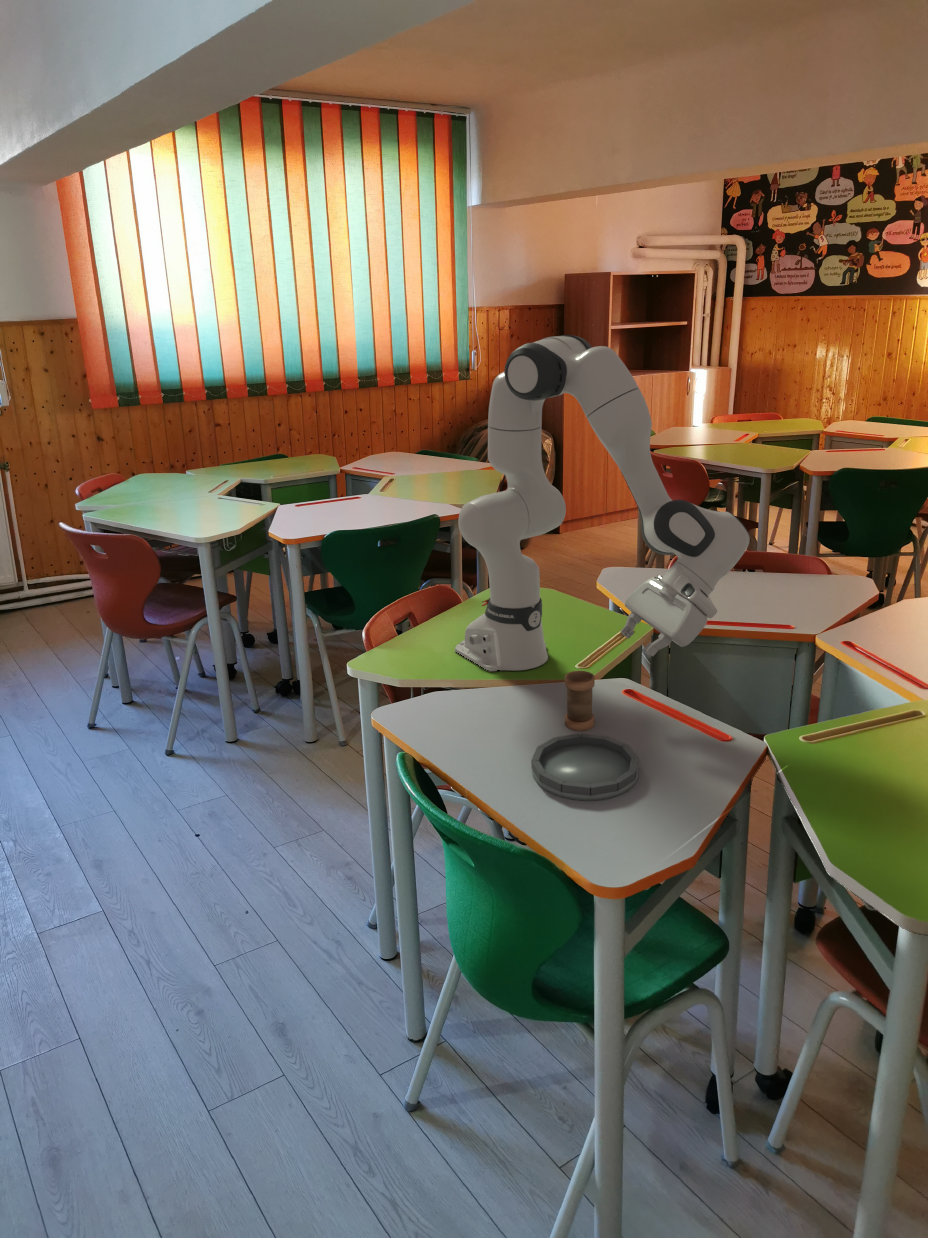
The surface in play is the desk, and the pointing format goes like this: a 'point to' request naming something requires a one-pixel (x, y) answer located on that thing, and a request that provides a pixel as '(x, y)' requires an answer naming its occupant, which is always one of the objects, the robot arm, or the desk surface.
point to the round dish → (585, 767)
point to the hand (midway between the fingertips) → (635, 644)
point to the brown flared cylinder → (579, 700)
